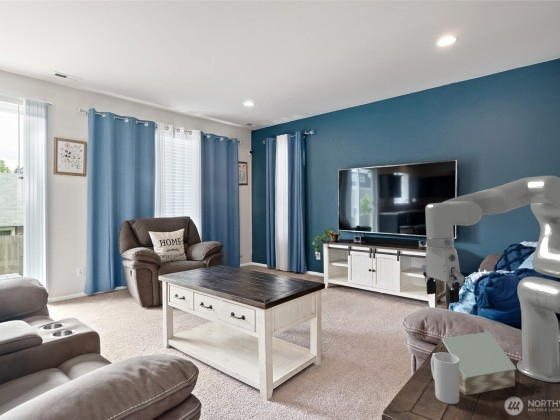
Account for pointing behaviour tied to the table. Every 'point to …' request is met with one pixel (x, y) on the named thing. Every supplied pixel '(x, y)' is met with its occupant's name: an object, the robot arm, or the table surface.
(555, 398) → the table surface
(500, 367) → the lid
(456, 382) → the mug
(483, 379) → the beige box
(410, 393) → the table surface
